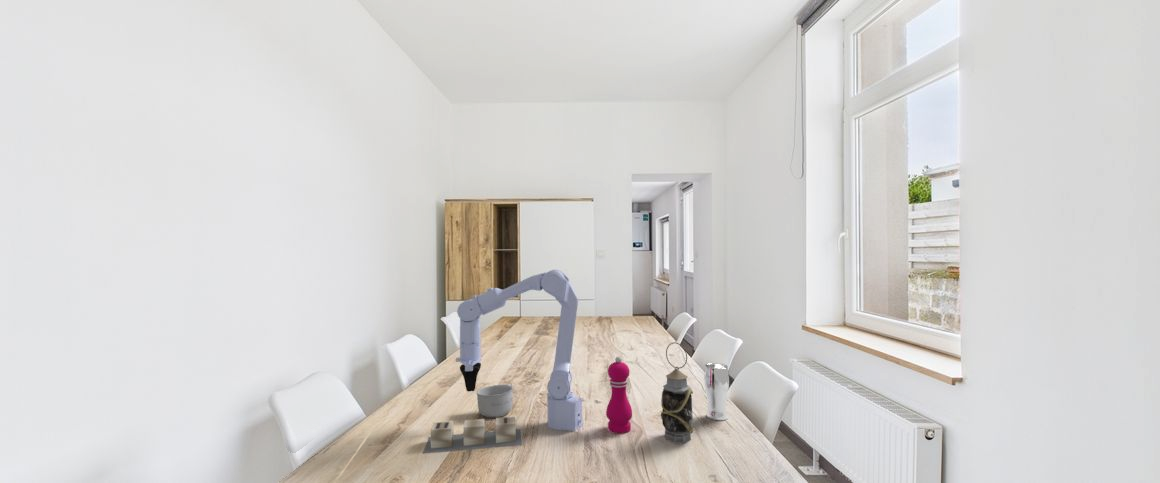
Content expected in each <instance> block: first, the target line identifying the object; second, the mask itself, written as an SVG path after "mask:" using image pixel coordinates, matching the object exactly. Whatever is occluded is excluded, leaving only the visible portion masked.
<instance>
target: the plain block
mask: <svg viewBox="0 0 1160 483" xmlns="http://www.w3.org/2000/svg"><path fill="white" fill-rule="evenodd" d="M485 423H486V422H485V418H479V419H477V418H476V419H465V420H464V424H463V434H464V446H465V445H477V444H484V438H485V432H486V431H485V429H486V428H485V425H486V424H485Z"/></svg>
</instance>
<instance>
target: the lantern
mask: <svg viewBox="0 0 1160 483" xmlns="http://www.w3.org/2000/svg"><path fill="white" fill-rule="evenodd" d="M673 344H677V345H679V346H680V347H681V348H682V349H683V350H684V352H685V353H684V354H685V362H684V364H683V365H682V366H680V367H678V366H674V365H673V364H672V363H671V362H670V360H669V358H668V349H669V347H670V346H671V345H673ZM665 357H666V360H667V362H668V364H669V365H670V366H672V367H673V368H674V369H673V371H671V372H670V373H668V374H666V375H665V378H666V384H663V386H662V387H663V390H662V392H661V403H660V404H661V408H662V411H661V412H660V418H661V420H662V422H661V423H662V426H663V427H664V438H665V440H666V441H669V442H672V443H675V444H686V443H687V442H690V441H691V440H692V435H691V434H692V433H693V430H694V425H693V424H694V420H693V398H692V396H693V393H694V391H693V389H692V388H691V386H690V385H688V382H687V381H688V380H687V378H688V377H689V376H688V375H686V374H684V373H683V372H682V371H680V369H682V368H684V367H685V366H686V364H687V361H688V354H687V351H686V349H685V347H684V345H682V344H681V343H679V342H670V343H669V344H668V346H667V347H666V349H665Z"/></svg>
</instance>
